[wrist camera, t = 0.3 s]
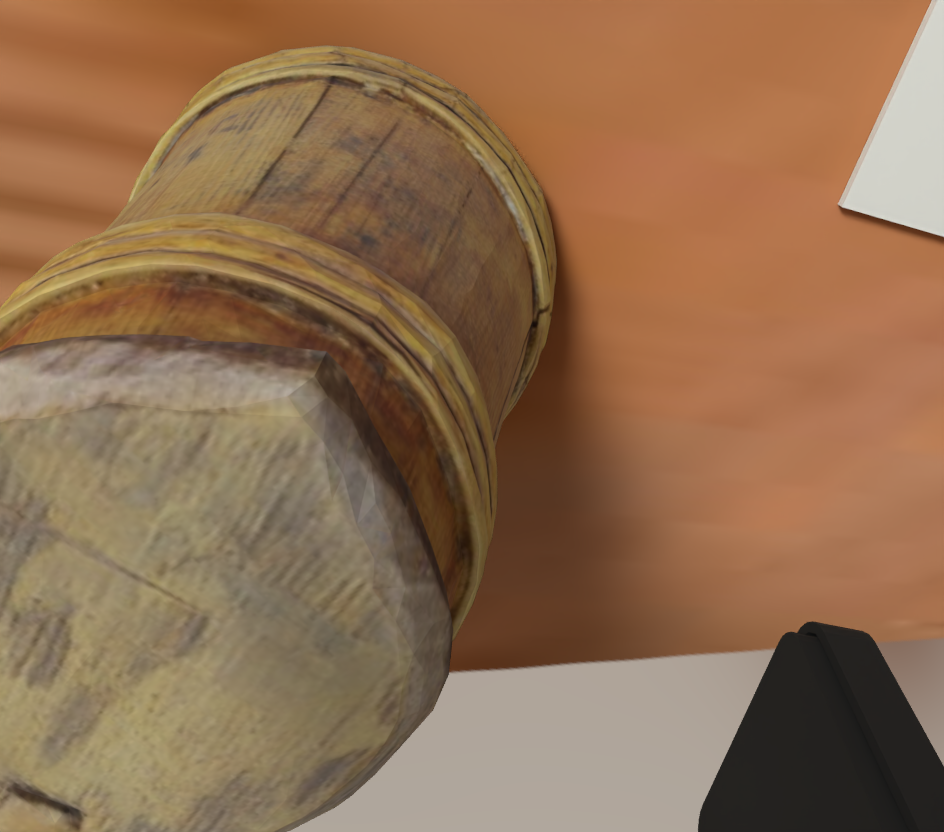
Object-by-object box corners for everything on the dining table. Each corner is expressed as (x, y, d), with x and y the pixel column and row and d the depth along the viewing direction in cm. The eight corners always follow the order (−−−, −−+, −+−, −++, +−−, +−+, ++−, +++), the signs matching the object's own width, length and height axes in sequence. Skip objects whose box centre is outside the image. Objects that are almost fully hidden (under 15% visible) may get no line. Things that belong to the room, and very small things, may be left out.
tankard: (633, 187, 37) (820, 498, 14) (388, 578, 46) (273, 1129, 24) (238, -44, 34) (-309, -104, 11) (62, 427, 43) (-423, 902, 21)
